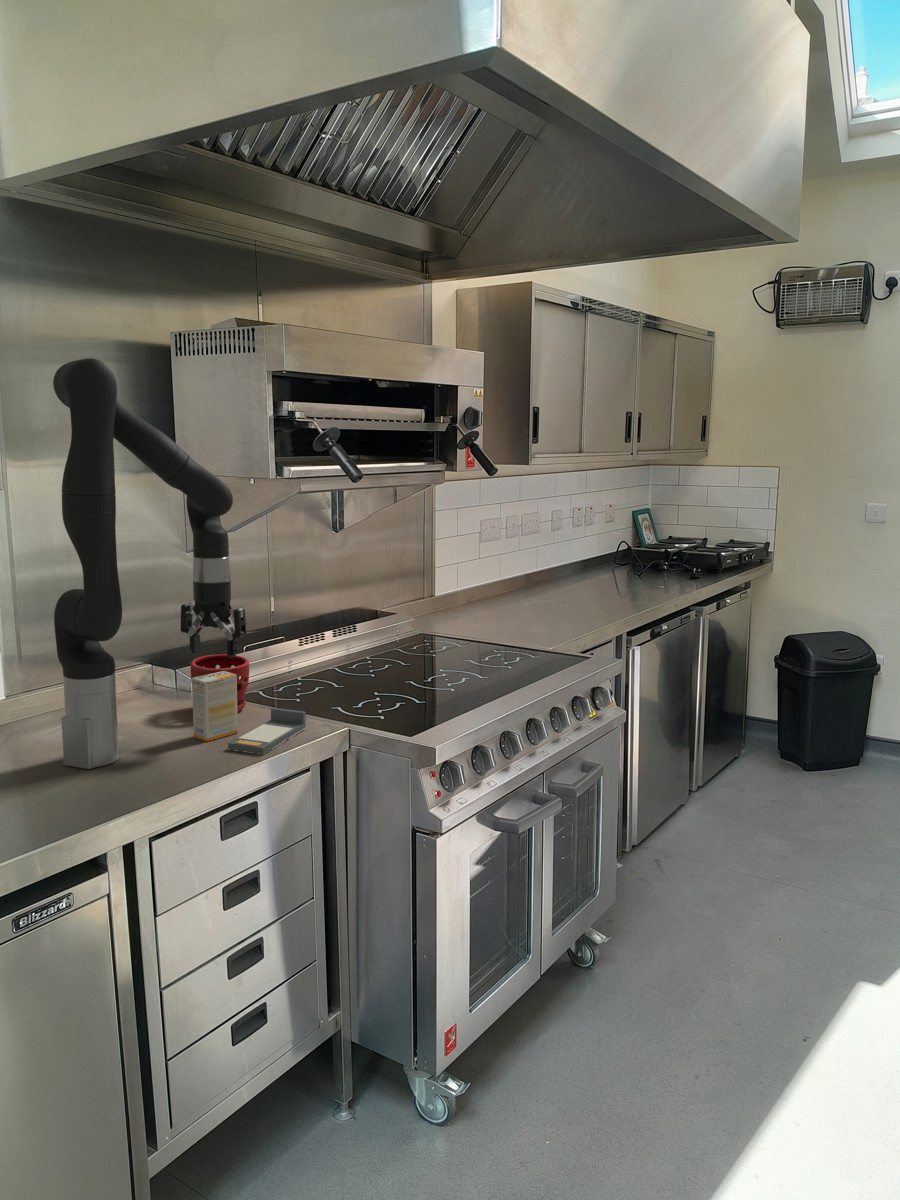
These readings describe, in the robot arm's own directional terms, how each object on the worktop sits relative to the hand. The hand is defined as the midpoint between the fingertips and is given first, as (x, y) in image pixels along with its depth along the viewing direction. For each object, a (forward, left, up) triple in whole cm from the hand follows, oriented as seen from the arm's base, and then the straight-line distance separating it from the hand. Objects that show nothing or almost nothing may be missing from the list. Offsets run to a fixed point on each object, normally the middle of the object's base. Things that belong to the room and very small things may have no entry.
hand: (214, 654), depth 187 cm
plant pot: (+16, +9, -18) cm, 25 cm away
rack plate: (+2, -12, -17) cm, 21 cm away
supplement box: (0, 0, -18) cm, 18 cm away
